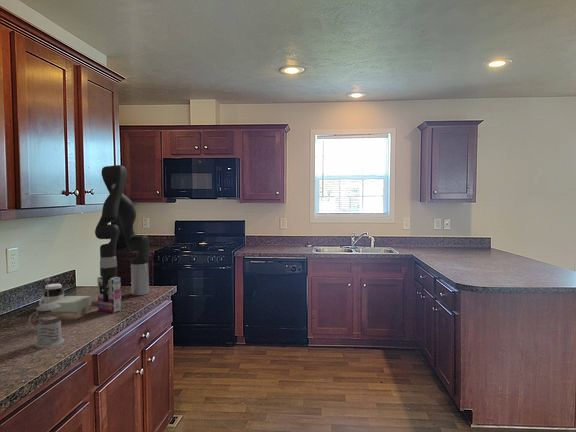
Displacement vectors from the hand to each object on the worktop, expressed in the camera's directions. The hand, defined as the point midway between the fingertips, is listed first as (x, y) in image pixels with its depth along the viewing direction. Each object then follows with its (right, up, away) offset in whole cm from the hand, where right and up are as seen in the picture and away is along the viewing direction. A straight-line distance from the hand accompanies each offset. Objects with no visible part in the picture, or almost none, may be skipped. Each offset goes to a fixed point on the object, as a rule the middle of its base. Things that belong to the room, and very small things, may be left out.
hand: (109, 300), depth 193 cm
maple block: (-15, -6, -7) cm, 17 cm away
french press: (-5, -8, -41) cm, 42 cm away
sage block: (-15, -2, -7) cm, 16 cm away
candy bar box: (0, -5, 0) cm, 5 cm away
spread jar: (-32, -5, +6) cm, 33 cm away
